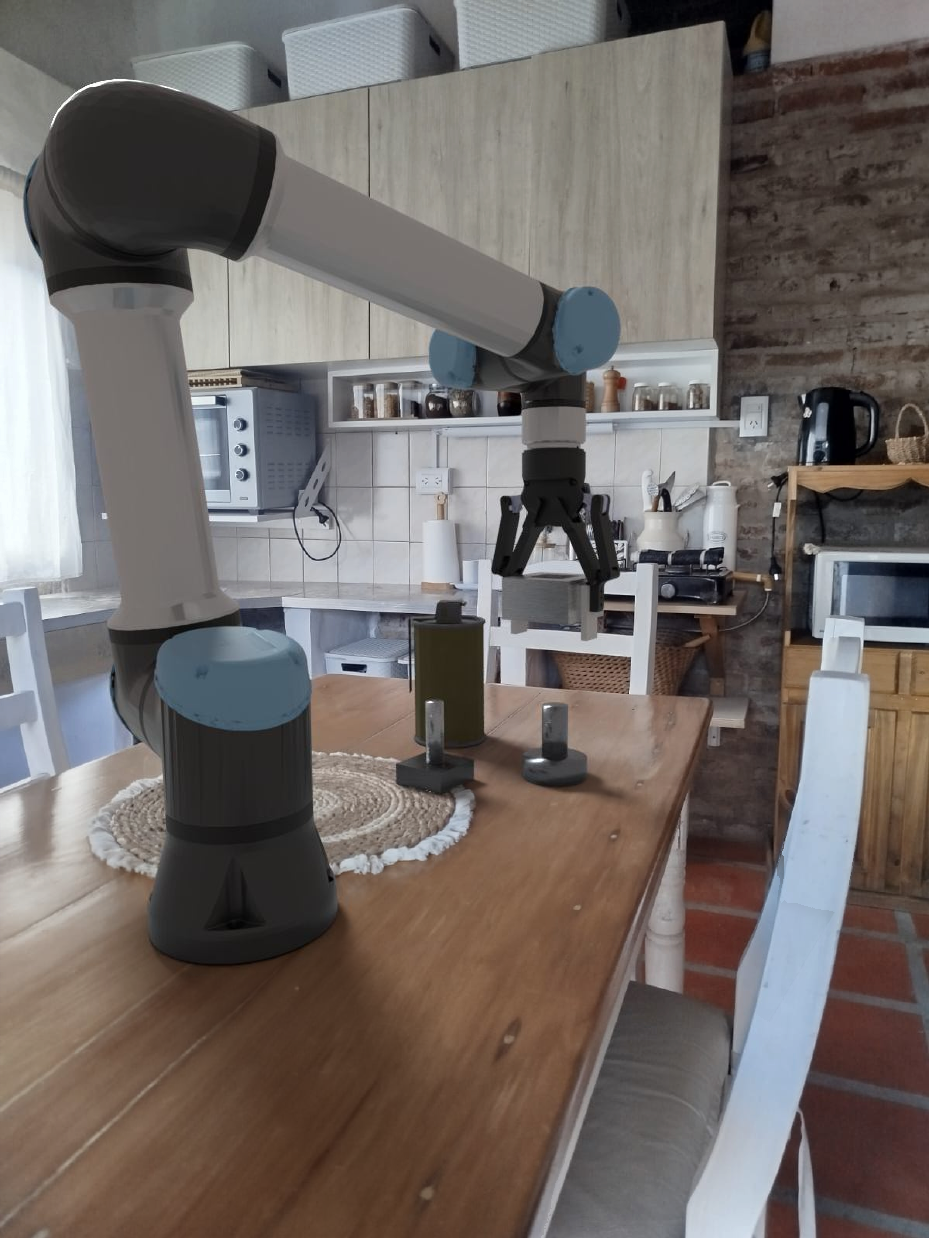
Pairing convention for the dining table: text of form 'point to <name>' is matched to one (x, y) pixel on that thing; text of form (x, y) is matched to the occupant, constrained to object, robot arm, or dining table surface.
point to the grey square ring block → (543, 598)
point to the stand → (435, 759)
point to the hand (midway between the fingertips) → (553, 635)
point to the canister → (449, 672)
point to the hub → (554, 752)
